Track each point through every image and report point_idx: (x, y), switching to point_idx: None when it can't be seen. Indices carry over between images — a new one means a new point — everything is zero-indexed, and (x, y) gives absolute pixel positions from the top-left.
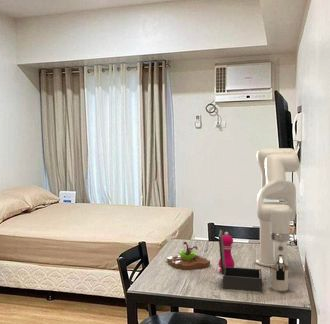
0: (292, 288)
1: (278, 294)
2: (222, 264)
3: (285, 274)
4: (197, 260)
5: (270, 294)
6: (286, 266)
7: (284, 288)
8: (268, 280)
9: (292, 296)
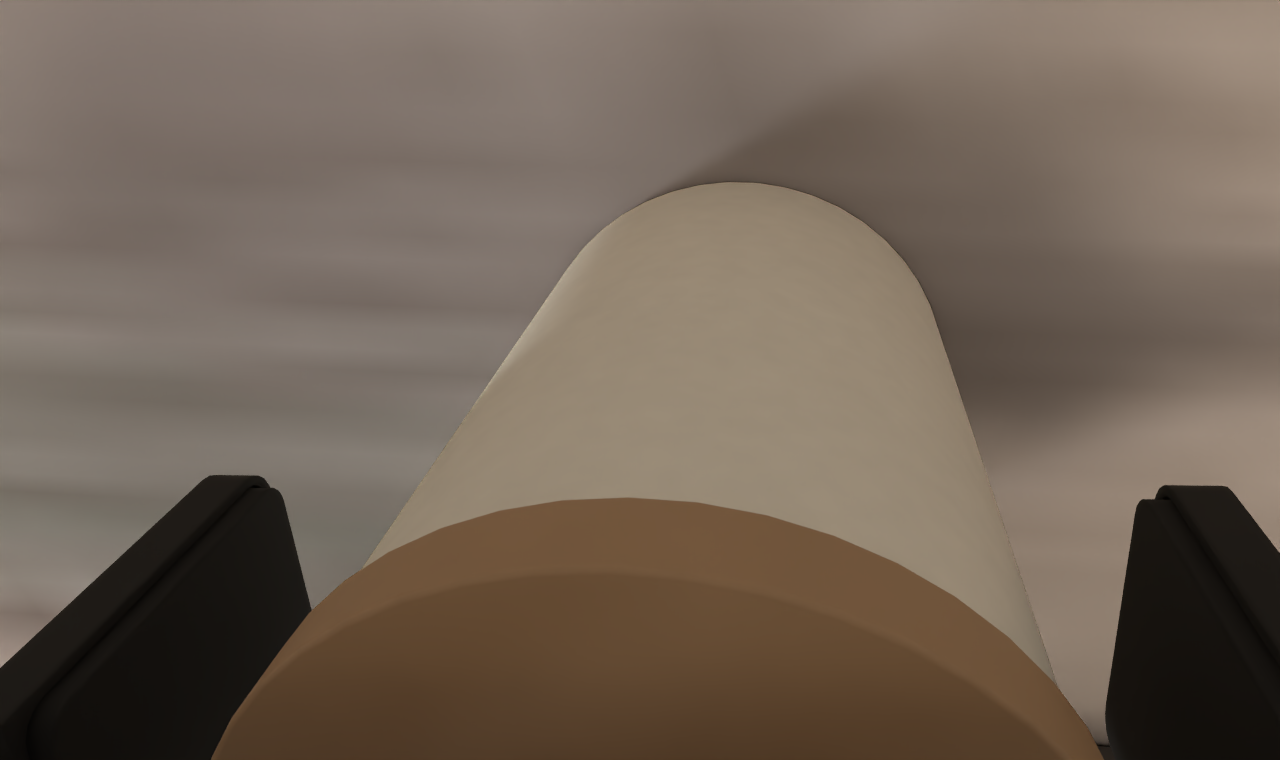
0: (466, 43)
1: (1131, 421)
2: None
3: (967, 527)
4: None
5: None
6: (428, 652)
7: (922, 310)
8: (95, 561)
9: (1266, 64)
